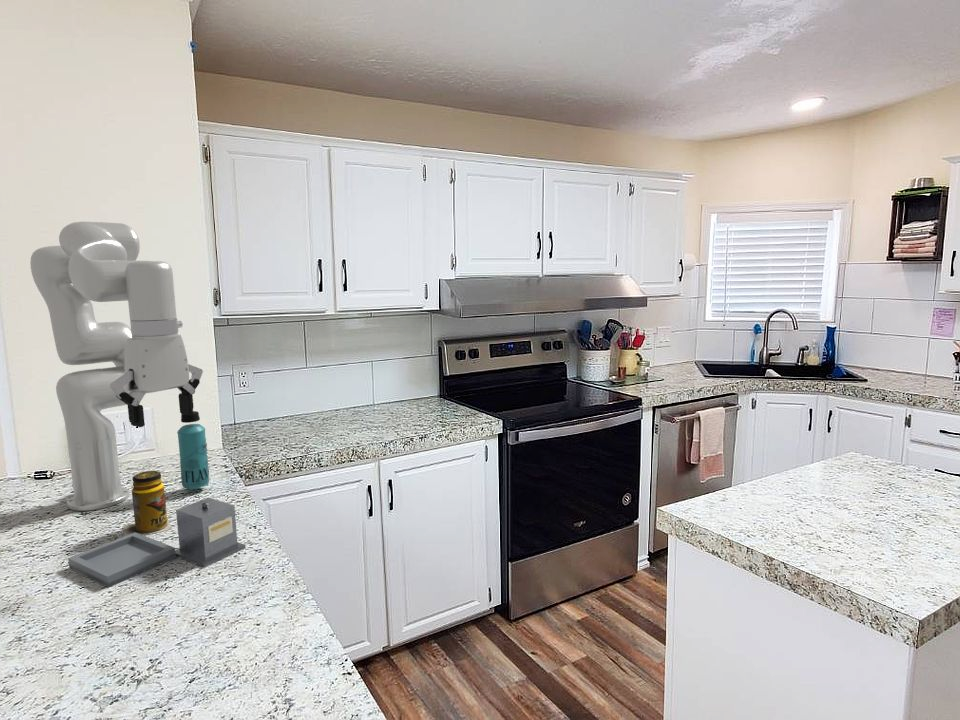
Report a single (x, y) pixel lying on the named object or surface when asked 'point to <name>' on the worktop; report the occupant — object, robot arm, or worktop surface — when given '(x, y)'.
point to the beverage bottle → (193, 453)
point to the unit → (207, 532)
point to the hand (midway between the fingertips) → (163, 419)
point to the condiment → (148, 505)
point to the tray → (121, 559)
